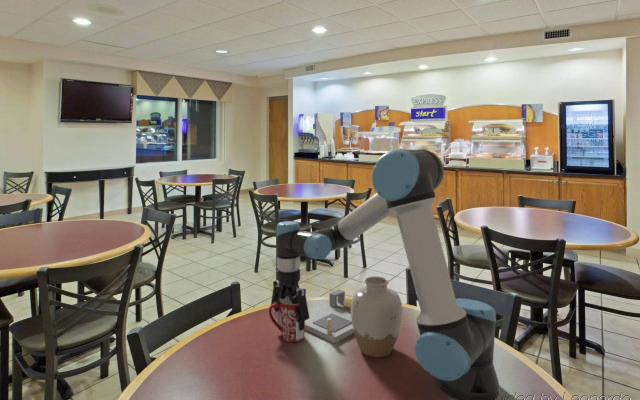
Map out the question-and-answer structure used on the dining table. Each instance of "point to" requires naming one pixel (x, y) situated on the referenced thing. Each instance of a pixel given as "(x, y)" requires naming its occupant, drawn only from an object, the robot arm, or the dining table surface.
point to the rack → (331, 319)
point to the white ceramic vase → (376, 317)
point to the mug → (286, 319)
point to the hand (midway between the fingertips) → (289, 333)
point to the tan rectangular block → (347, 304)
